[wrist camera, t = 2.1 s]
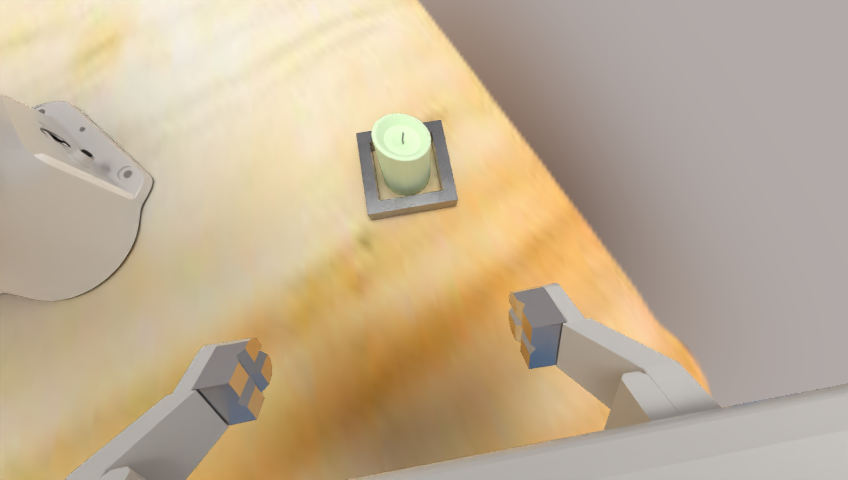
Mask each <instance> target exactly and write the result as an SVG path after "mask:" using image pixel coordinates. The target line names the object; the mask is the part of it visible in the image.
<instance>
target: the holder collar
mask: <svg viewBox="0 0 848 480" xmlns="http://www.w3.org/2000/svg"><path fill="white" fill-rule="evenodd" d="M423 124H424V125H425V126H426V127H427V129H428V131H429V132H430V136H431V142H432V147H433V152H434V157H435V162H436V167H437V172H438V177H439V182H440V187H441V191H435V192H429V193H423V194H417V195H411V196H405V197H400V198H394V199H388V200H382V201H380V197H379V191H378V184H377V178H376V171H375V165H374V159H373V152H372V151H375V147H374V144H373V141H372V135H371V133H372V131H368V132H362V133H356V135H357V142H358V149H359V156H360V163H361V169H362V176H363V183H364V190H365V197H366V204H367V211H368V215H369V217H370V219H371V220H376V219H382V218H388V217H394V216H399V215H405V214H411V213H417V212H423V211H429V210H435V209H441V208H446V207H452V206H456V204H457V200H458V198H457V193H456V188H455V184H454V179H453V174H452V169H451V165H450V160H449V155H448V151H447V146H446V141H445V137H444V132H443V127H442V123H441V120H437V121H431V122H424V123H423Z"/></svg>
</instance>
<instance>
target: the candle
mask: <svg viewBox="0 0 848 480" xmlns="http://www.w3.org/2000/svg"><path fill="white" fill-rule="evenodd" d="M371 135H372V141H373V144H374V147H375V151H376V154H377V157H378V160H379V164H380V167H381V170H382V173H383V177H384V180H385V182H386V184H387V186H388V187H389V188H390V189H391V190H392V191H394V192H395V193H398V194H401V195H412V194H415V193H417V192H420V191H421V190H422V189H423V188H424V187H425V186H426V185H427V183H428V181H429V178H430V157H431V136H430V132H429V131H428V129H427V127H426V126H425V125H424V124H423V123H422V122H421V121H419V120H418V119H416V118H415V117H412V116H410V115H406V114H401V113H393V114H389V115H385V116H383V117H381V118H380V119H379V120H378V121H377V122H375V124H374V126H373V128H372V133H371Z"/></svg>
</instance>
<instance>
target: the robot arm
mask: <svg viewBox="0 0 848 480" xmlns="http://www.w3.org/2000/svg"><path fill="white" fill-rule="evenodd" d="M152 183H153V180H152V177H151V176H150V175H149V174H148V173H147V172H146V171H145V170H144V169H143V168H142V167H141V166H140V165H139V164H138V163H137V162H135V161H134V160H133V159H132V158H131V157H130V156H129V155H128V154H127V153H126V152H125V151H124V150H122V149H121V148H120V147H119V146H118V145H117V144H116V143H115V142H114V141H113V140H112V139H111V138H110V137H108V136H107V135H106V134H105V133H104V132H103V131H102V130H101V129H100V128H99V127H98V126H97V125H95V124H94V123H93V122H92V121H91V120H90V119H89V118H88V117H87V116H86V115H85V114H84V113H82V112H81V111H80V110H79V109H78V108H77V107H75V106H74V105H72V104H69V103H67V102H65V101H57V102H50V103H45V104H41V105H38V106H34V107H32V108H31V107H29V106H27V105H25V104H23V103H21V102H18V101H16V100H14V99H12V98H9V97H7V96H4V95H1V94H0V294H2V293H8V294H13V295H18V296H22V297H26V298H30V299H34V300H40V301H58V300H64V299H68V298H72V297H75V296H78V295H80V294H83V293H85V292H87V291H89V290H91V289H92V288H94V287H96V286H97V285H99V284H100V283H102V282H103V281H104V280H105V279H107V278H108V277H109V276H110V275H111V274H112V273H113V272H114V271H115V270H116V269H117V268H118V267H119V266H120V264H121V263H122V262H123V260H124V259H125V258H126V256H127V254H128V253H129V251H130V249H131V247H132V245H133V243H134V240H135V238H136V235H137V231H138V226H139V218H140V211H141V207H142V204H143V203H144V201H145V199H146V197H147V195H148V194H149V192H150V189H151V187H152ZM509 302H510V304H511V306H512V307H511V309H510V310H509V322H510V327H511V330H512V333H513V335H514V338H515V340H517V341H518V342H520V343H521V353H522V355H523V357H524V359H525V362H526V364H527V366H528V368H529V369H533V368H539V367H545V366H552V365H556V366H557V367H558V368H559V369H561V370H562V371H563V372H564V373H566V374H567V375H568V376H569V377H571V378H572V379H573V380H574V381H576V382H577V383H578V384H580V385H581V386H582V387H583V388H585V389H586V390H587V391H588V392H590V393H591V394H592V395H593V396H595V397H596V398H597V399H598V400H600V401H601V402H602V403H604V404H605V405H606V406H607V407H609V408H610V409H611V410H610V413H609V416H608V419H607V422H606V425H605V428H604V430H603V431H597V432H592V433H587V434H582V435H577V436H571V437H566V438H561V439H556V440H551V441H545V442H540V443H535V444H530V445H525V446H519V447H514V448H509V449H504V450H498V451H493V452H488V453H483V454H477V455H472V456H467V457H462V458H456V459H451V460H446V461H441V462H435V463H430V464H425V465H420V466H414V467H409V468H404V469H399V470H393V471H388V472H383V473H378V474H373V475H367V476H362V477H357V478H352V479H347V480H848V383H847V384H842V385H837V386H832V387H827V388H822V389H816V390H812V391H806V392H801V393H795V394H790V395H785V396H780V397H775V398H769V399H764V400H759V401H754V402H748V403H743V404H738V405H733V406H728V407H722V408H721V407H720V406H719V405H718V404H717V402H716V401H715V400H714V399H713V398H712V397H711V396H710V395H709V394H708V393H707V392H706V391H705V390H704V389H703V388H702V387H701V386H700V384H699V383H698V382H697V381H696V380H695V379H694V378H693V377H692V376H691V375H690V374H689V373H688V372H687V371H686V370H685V369H684V368H683V367H682V365H681V364H680V363H679V362H677V361H675V360H673V359H671V358H669V357H667V356H665V355H663V354H661V353H659V352H657V351H655V350H653V349H651V348H649V347H647V346H645V345H643V344H641V343H639V342H637V341H635V340H633V339H631V338H629V337H627V336H625V335H623V334H621V333H619V332H617V331H615V330H613V329H611V328H609V327H607V326H605V325H603V324H601V323H599V322H597V321H595V320H593V319H591V318H590V319H585V318H584V316H583V315H582V314H581V312H580V311H579V310H578V309H577V307H576V306H575V305H574V303H573V302H572V301H571V299H570V298H569V297H568V295H567V294H566V293H565V292H564V290H563V289H562V288H561V286H560V285H559V284H557V283H553V284H548V285H542V286H538V287H532V288H527V289H522V290H516V291H511V292H510V294H509ZM260 348H261V343H260V342H259V341H258V339H257V338H248V339H241V340H235V341H228V342H222V343H217V344H211V345H205V346H204V347H202V348H201V349H200V350H199V351H198V353H197V355H196V356H195V358H194V359H193V361H192V363H191V364H190V366H189V367H188V369H187V371H186V372H185V374H184V376H183V377H182V379H181V380H180V382H179V384H178V385H177V387H176V388H175V390H174V392H173V393H172V394H171V395H166V396H165V397H164V398H163V399H161V400H160V401H159V402H158V403H157V404H155V405H154V406H153V407H152V408H150V409H149V410H148V411H147V412H145V413H144V414H143V415H142V416H141V417H139V418H138V419H137V420H136V421H134V422H133V423H132V424H131V425H130V426H128V427H127V428H126V429H125V430H123V431H122V432H121V433H120V434H118V435H117V436H116V437H115V438H114V439H112V440H111V441H110V442H109V443H107V444H106V445H105V446H104V447H103V448H101V449H100V450H99V451H98V452H96V453H95V454H94V455H93V456H92V457H90V458H89V459H88V460H87V461H85V462H84V463H83V464H82V465H80V466H79V467H78V468H77V469H76V470H74V471H73V472H72V473H71V474H69V475H68V476H67V478H66V479H65V480H186V478H187V477H188V476H189V475H190V474H191V472H192V471H193V470H194V469H195V467H196V466H197V465H198V464H199V463H200V461H201V460H202V459H203V458H204V456H205V455H206V454H207V453H208V452H209V450H210V449H211V448H212V447H213V446H214V444H215V443H216V442H217V441H218V439H219V438H220V437H221V436H222V435H223V433H224V432H225V431H226V430H227V428H228V425H233V424H238V423H242V422H247V421H252V420H256V419H257V418H258V415H259V412H260V409H261V406H262V403H263V400H264V396H263V394H262V391H263V390H264V389H265V388H266V387H267V386H268V385H269V383H270V380H271V376H272V364H271V360H270V358H269V356H268V355H267V354H266V353H264V352H262V351H260Z"/></svg>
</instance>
